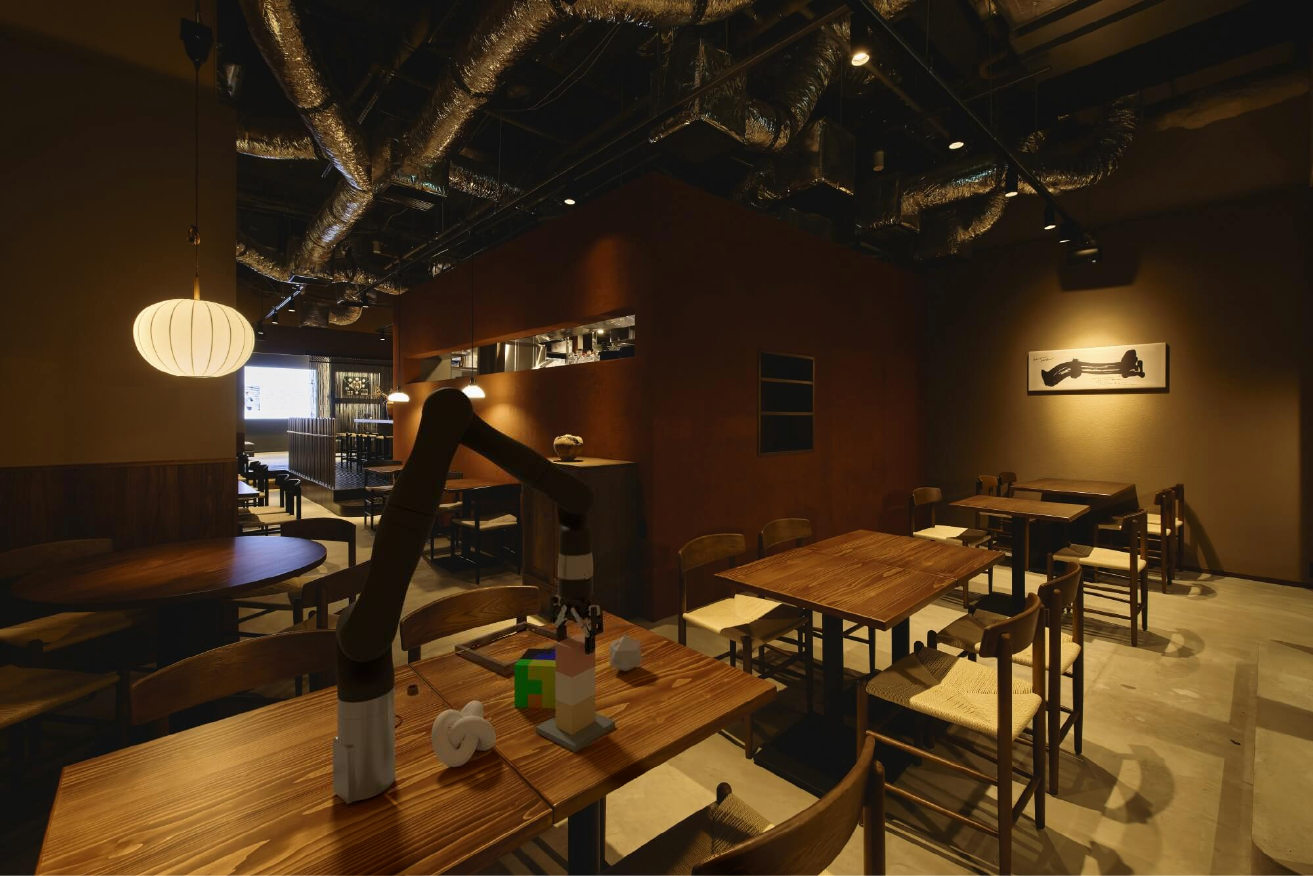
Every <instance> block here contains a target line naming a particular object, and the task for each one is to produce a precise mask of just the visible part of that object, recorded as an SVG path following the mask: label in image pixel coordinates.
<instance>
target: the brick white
mask: <svg viewBox="0 0 1313 876" xmlns="http://www.w3.org/2000/svg"><path fill="white" fill-rule="evenodd" d="M555 677H556V700H559V701H561V702H563V703H565V704H568V705H570V706H573V705H575V704H577V703H579V702H581V701H582V700H584V699H586V698H588V697H590V696H592V695H594V694H595V695H596V666H595V667H593V668H590V669H588V670H586V671H584V672H582V673H580V674H578V675H576V676H574V677H569V676H567V675H564V674H562V673H559V672H556V671H555Z"/></svg>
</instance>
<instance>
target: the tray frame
mask: <svg viewBox="0 0 1313 876" xmlns="http://www.w3.org/2000/svg"><path fill="white" fill-rule="evenodd" d="M538 627H541V628H539V629H537V628H538ZM532 629H535V630H534V631H531V632H532V633H535V632H536V633H535V634H538V635H541V636H543V635H544V637H546V638H549V637H550V638H549V639H553V640H556V641H557V639H556V630H553V629H551V628H547V627H543V626H540V625H539V624H538V625H537V624H535V623H531V622H528V621H522V622H519V623H516V624H514V625H511V626H507V627H504V628H502V629H499V630H496V631H493V632H490V633H487V634H483V635H482V636H478V637H475V638H472V639H470V640H467V641H464V642H462V643H458V644H455V645H454V653H455V652H457V651H461V650H464V651H462V652H460V653H461V654H460V655H459V657H460V656H461V657H462V658H464V659H467V660H468V661H469V660H470V661H472V662H474V663H476V664H478V665H480V666H483V667H484V668H487V669H489V670H491V671H493V672H495V673H498V674H500V675H502V676H507V675H510V674H513V673H514V665H515V664H516V662H517V661H518V660H519V659H520V658H521V657H519V658H515V659H513V660H511V661H509V662H503V661H500V660H498V659H496V658H493V657H491V656H488V655H486V654H483V653H480V652H479V651H476V650H473V649H468V650H465V649H467V648H471V647H473V646H477V645H480V646H482V644H483V645H485V644H487V643H490V642H494V641H496V640H498V639H500V638H503V637H507V636H509V635H512V634H515V633H517V632H519V631H523V630H526V631H530V630H532ZM570 637H572V635H569V634H567V638H570ZM484 643H485V644H484ZM556 643H557V642H555V643H552V644H551V645H547V646H546V647H543V648H542V649H556ZM477 647H478V646H477ZM458 654H459V653H457V654H456V655H458Z"/></svg>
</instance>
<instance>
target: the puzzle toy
mask: <svg viewBox="0 0 1313 876" xmlns="http://www.w3.org/2000/svg"><path fill="white" fill-rule="evenodd" d="M519 658H520V659H519V660H518V661H517V662H516V664H515V665H514V672H513V673H514V677H513V678H514V679H513V681H514V683H513V684H514V686H513V687H514V688H513V689H514V692H513V693H514V699H513V700H514V707H516V708H533V709H534V708H535V709H554V710H556V677H555V671H556V649H543V648H531V647H529V648H527V649H526V650H525V652H524V653H523V654H522V655H521V656H520V657H519Z"/></svg>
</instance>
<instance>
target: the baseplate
mask: <svg viewBox="0 0 1313 876" xmlns="http://www.w3.org/2000/svg"><path fill="white" fill-rule="evenodd" d="M595 719H596V721H594V722H593V723H591V724H589V725H588V726H586V727H584V728H583V729H581V730H579V731H578V732H576V733H575V734H573V735H571V734H569V733H567V732H565V731H563V730H561V729H558V728H556V715H555V716H553V717H551V718H550V719H547V720H546V721H544V722H542V723H540V724H538V725H537V726H536V727H535V733H536V734H539V735H540V736H542V737H544V738H546V739H548V740H549V741H552V742H554V743H556V744H557V745H559V746H562V747H564V748H565V749H567V750H570V751H572V752H573V753H577V752H578V751H579V750H581V749H582V748H584V747H586V746H587V745H588V744H590V743H592V742H594V741H595V740H597V739H598V738H600V737H601V736H603V735H604V734H605V733H607V732H609V731H611V730H612V729H614V728H615V727H616V721H615V720H614V719H611V718H609V717H607V716H604V715H602V714H599V713H597V712H595Z"/></svg>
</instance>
